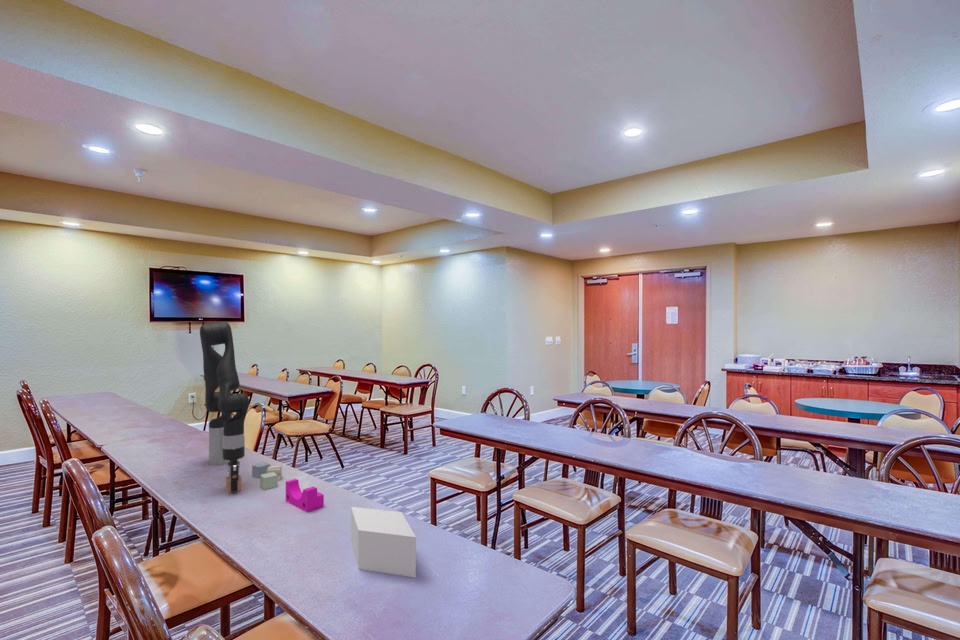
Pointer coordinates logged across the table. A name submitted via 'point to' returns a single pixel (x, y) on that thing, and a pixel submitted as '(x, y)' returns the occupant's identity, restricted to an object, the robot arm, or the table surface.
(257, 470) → the cube slate
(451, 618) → the table surface
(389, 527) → the white rectangular block
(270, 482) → the cube sage
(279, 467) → the cube cream
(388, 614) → the table surface
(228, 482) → the cube terracotta
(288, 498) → the toy block
